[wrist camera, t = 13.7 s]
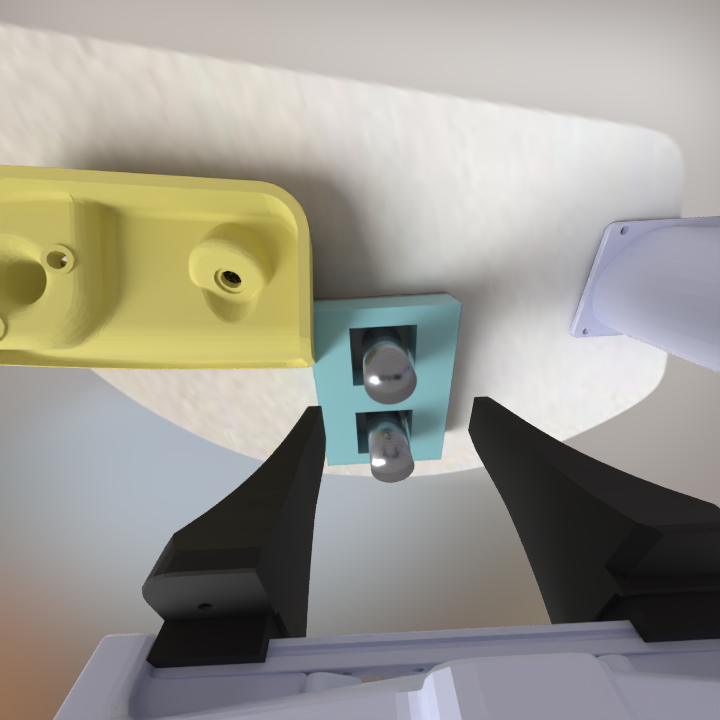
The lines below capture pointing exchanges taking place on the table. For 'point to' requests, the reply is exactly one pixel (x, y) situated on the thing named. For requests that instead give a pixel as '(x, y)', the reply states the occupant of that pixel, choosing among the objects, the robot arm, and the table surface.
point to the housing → (346, 379)
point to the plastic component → (152, 272)
